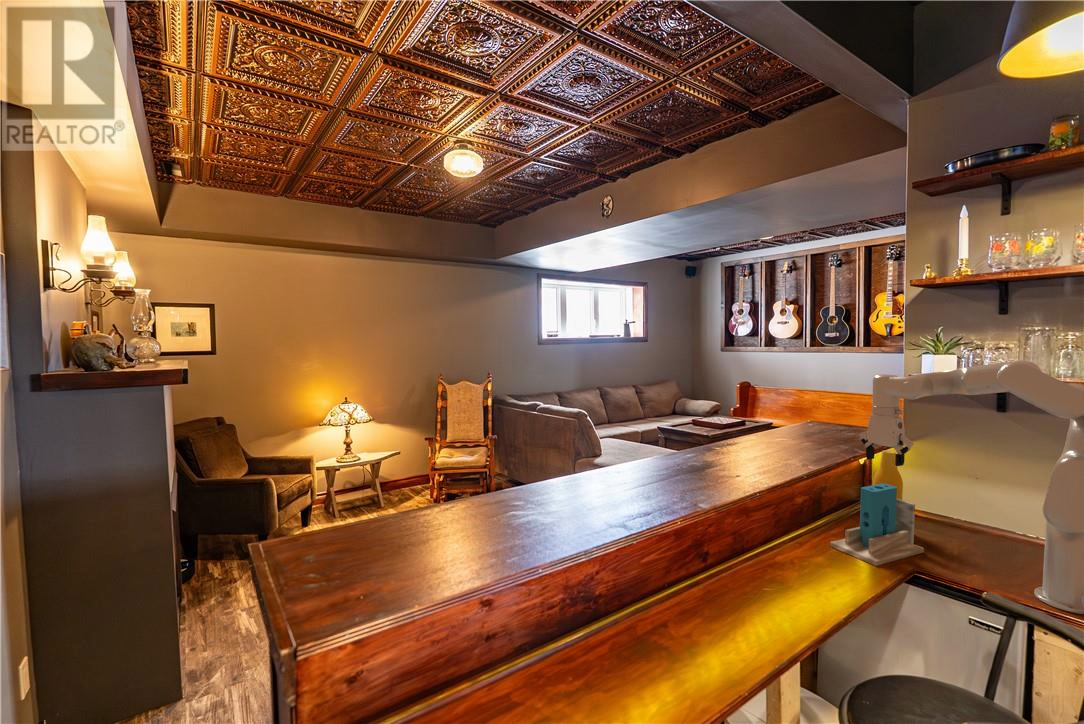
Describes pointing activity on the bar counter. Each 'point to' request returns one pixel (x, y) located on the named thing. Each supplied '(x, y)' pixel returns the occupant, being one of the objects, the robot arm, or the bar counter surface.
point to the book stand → (884, 540)
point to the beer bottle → (889, 473)
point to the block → (877, 511)
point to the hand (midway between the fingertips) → (884, 462)
